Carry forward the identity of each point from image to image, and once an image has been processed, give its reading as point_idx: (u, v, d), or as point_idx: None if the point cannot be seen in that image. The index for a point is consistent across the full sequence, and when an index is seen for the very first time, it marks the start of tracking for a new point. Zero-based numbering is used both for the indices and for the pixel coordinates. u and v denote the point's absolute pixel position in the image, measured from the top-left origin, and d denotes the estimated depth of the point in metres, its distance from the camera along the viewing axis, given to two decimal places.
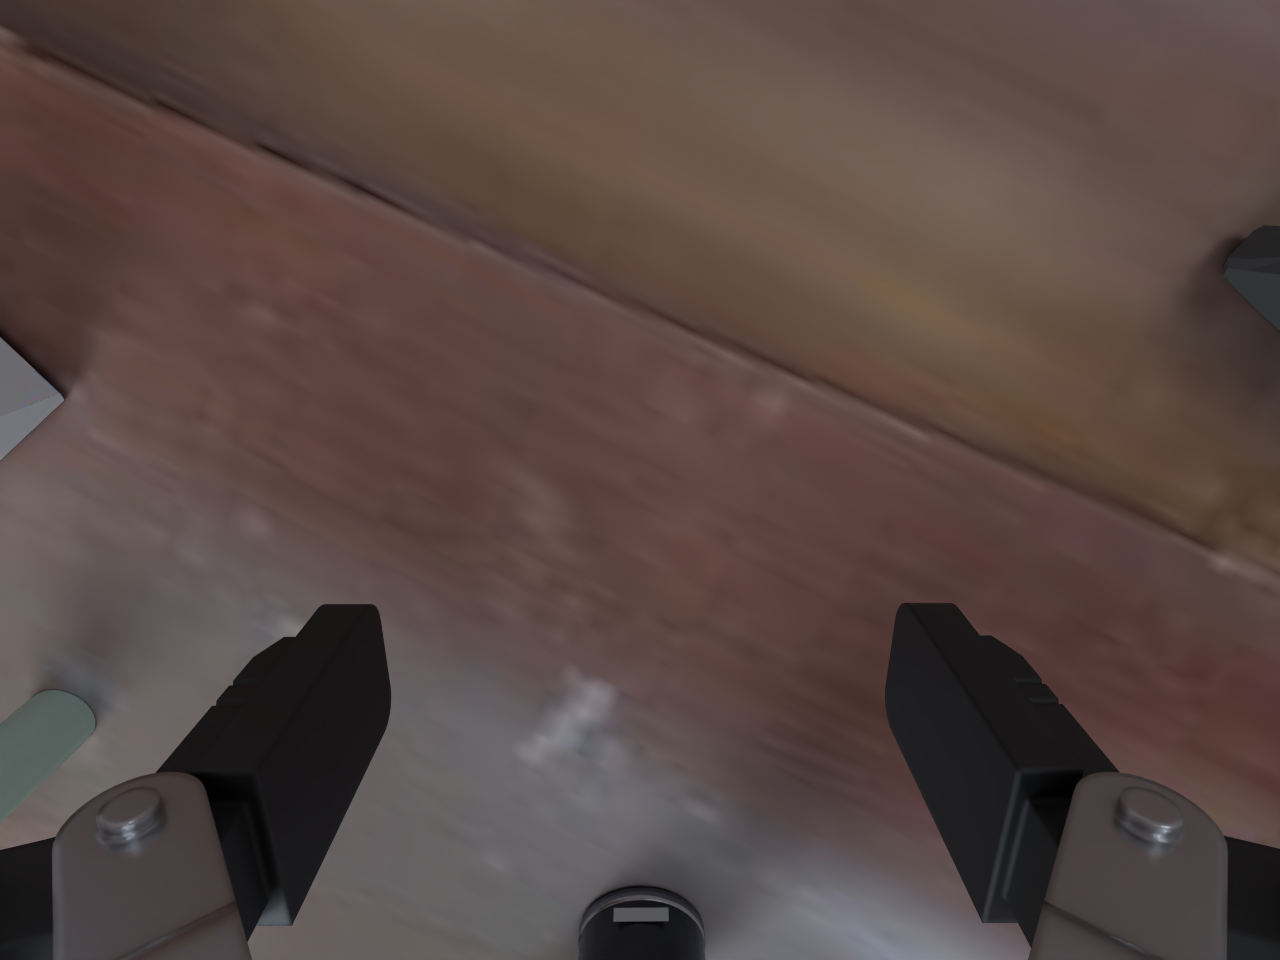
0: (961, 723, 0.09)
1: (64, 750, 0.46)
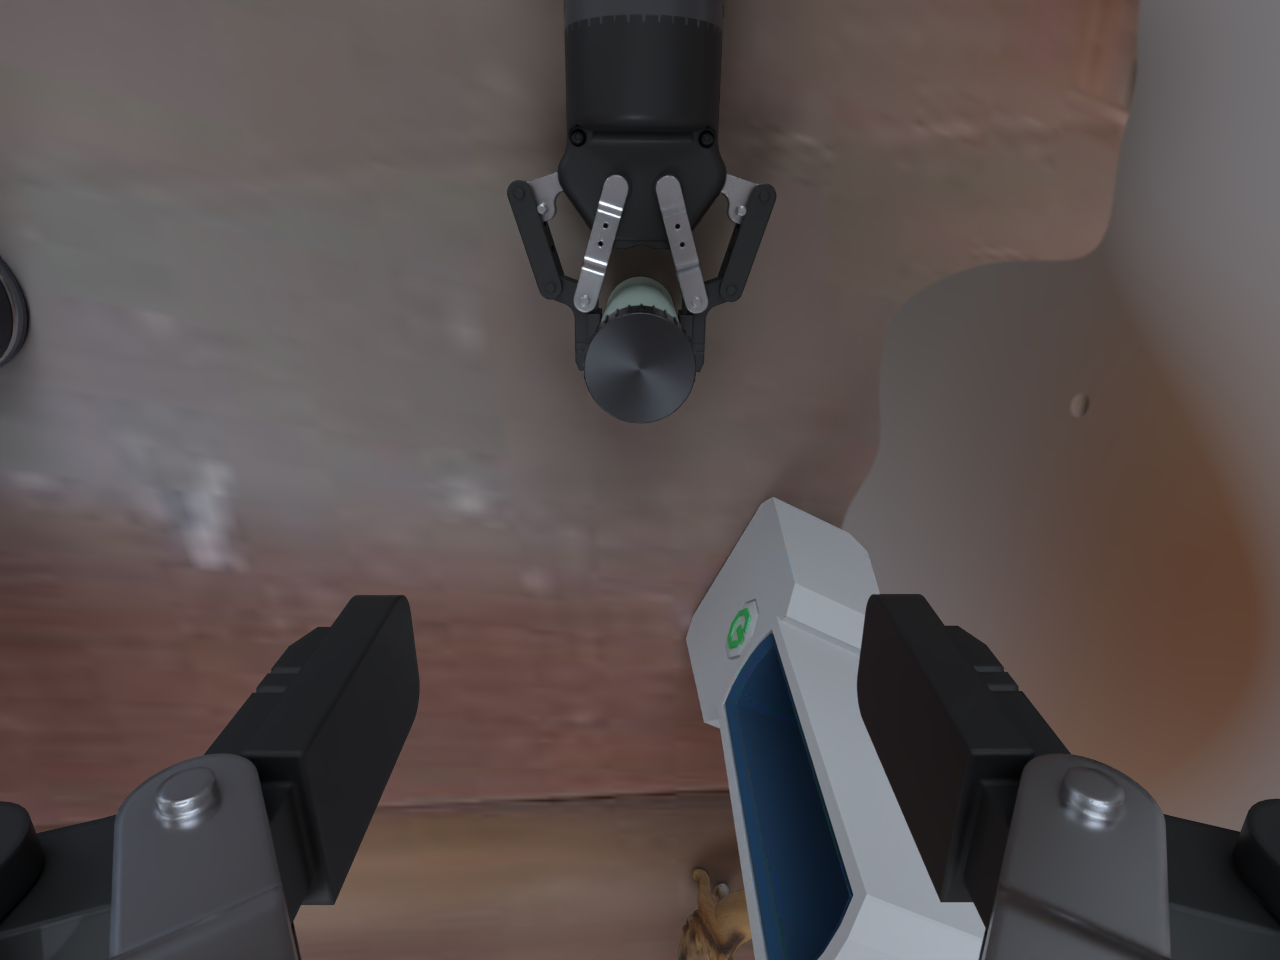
0: (922, 709, 0.09)
1: None
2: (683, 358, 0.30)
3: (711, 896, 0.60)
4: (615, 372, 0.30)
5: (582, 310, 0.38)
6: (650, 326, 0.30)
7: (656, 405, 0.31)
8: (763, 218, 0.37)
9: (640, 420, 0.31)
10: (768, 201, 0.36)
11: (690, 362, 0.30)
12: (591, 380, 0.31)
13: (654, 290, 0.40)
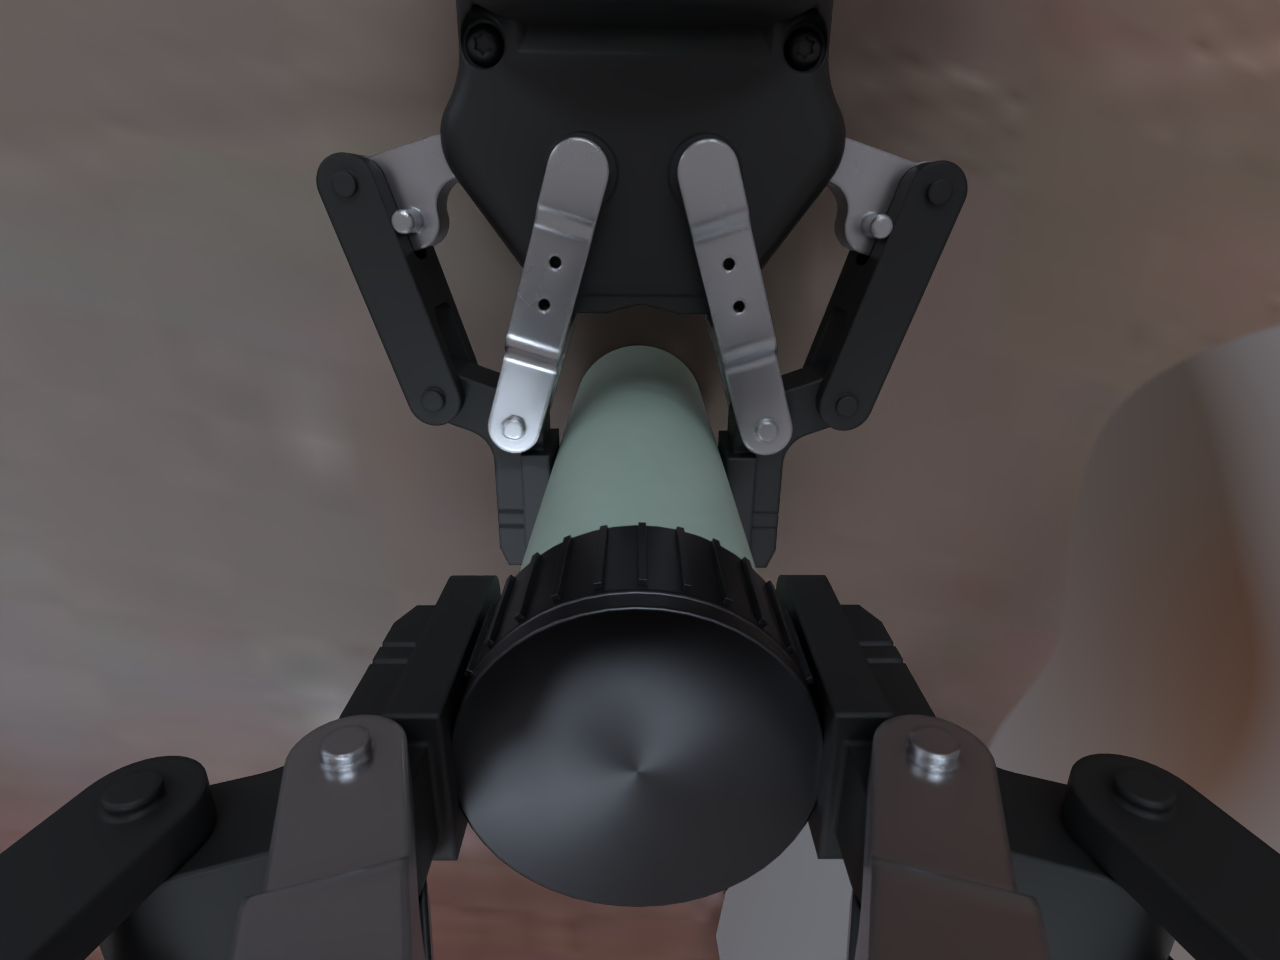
0: None
1: None
2: (785, 741, 0.09)
3: None
4: (555, 779, 0.09)
5: (508, 448, 0.17)
6: (674, 649, 0.08)
7: (691, 864, 0.10)
8: (932, 244, 0.15)
9: (639, 901, 0.10)
10: (947, 203, 0.15)
11: (809, 752, 0.09)
12: (476, 800, 0.09)
13: (669, 396, 0.18)
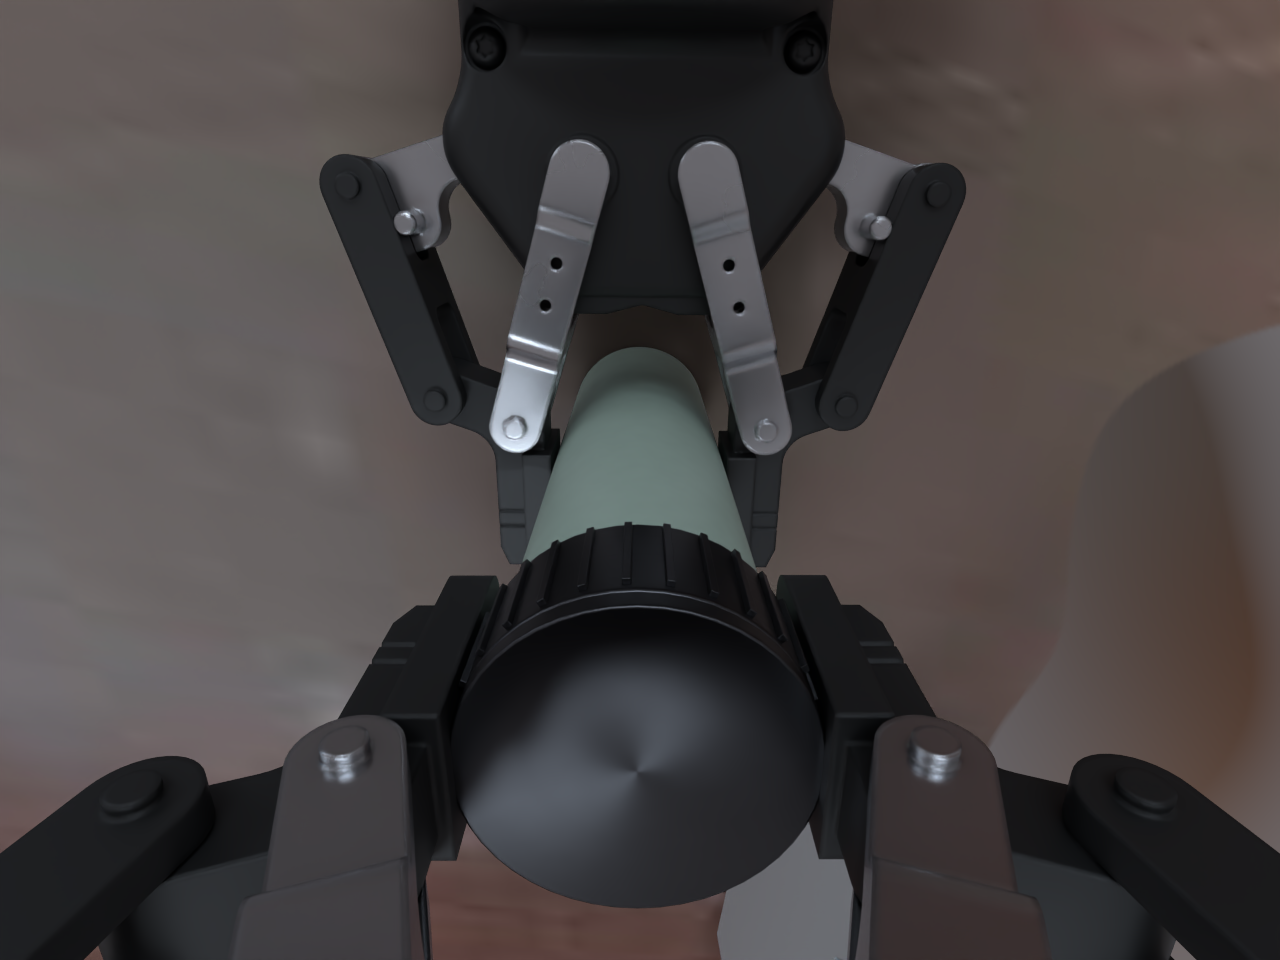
0: None
1: None
2: (619, 643, 0.08)
3: None
4: (635, 835, 0.09)
5: (509, 448, 0.17)
6: (495, 726, 0.09)
7: (771, 740, 0.09)
8: (931, 246, 0.16)
9: (812, 790, 0.09)
10: (946, 205, 0.15)
11: (637, 623, 0.08)
12: (650, 894, 0.10)
13: (670, 396, 0.18)
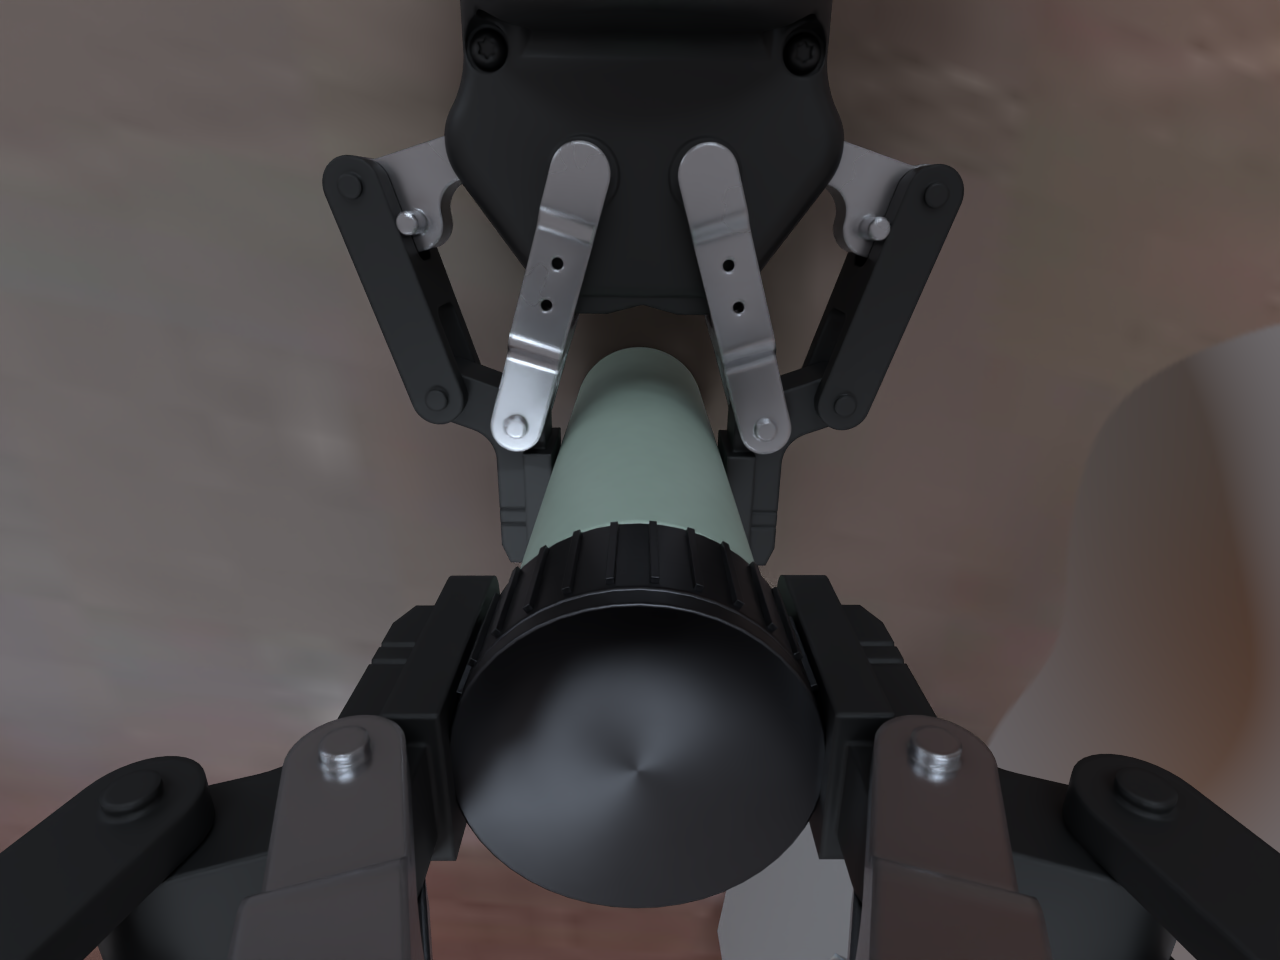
0: None
1: None
2: (485, 766, 0.09)
3: None
4: (719, 781, 0.09)
5: (510, 447, 0.17)
6: (567, 866, 0.10)
7: (616, 654, 0.08)
8: (929, 246, 0.16)
9: (690, 620, 0.08)
10: (944, 206, 0.15)
11: (464, 751, 0.09)
12: (805, 777, 0.09)
13: (670, 395, 0.18)
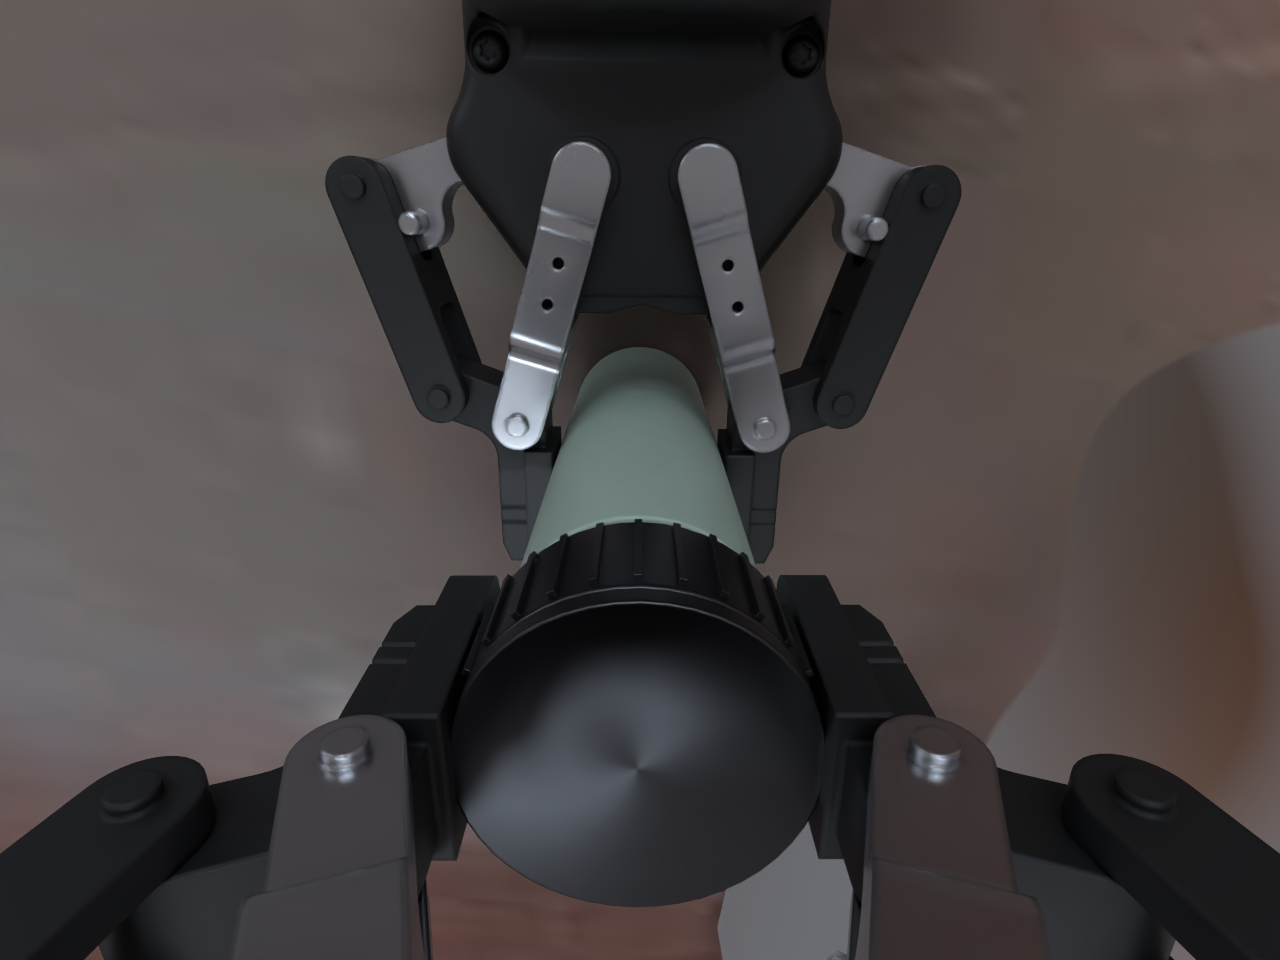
0: None
1: None
2: (613, 880, 0.10)
3: None
4: (663, 702, 0.09)
5: (512, 446, 0.17)
6: (750, 838, 0.09)
7: (499, 768, 0.09)
8: (927, 246, 0.16)
9: (467, 708, 0.09)
10: (942, 207, 0.15)
11: (592, 892, 0.10)
12: (673, 623, 0.08)
13: (670, 394, 0.19)
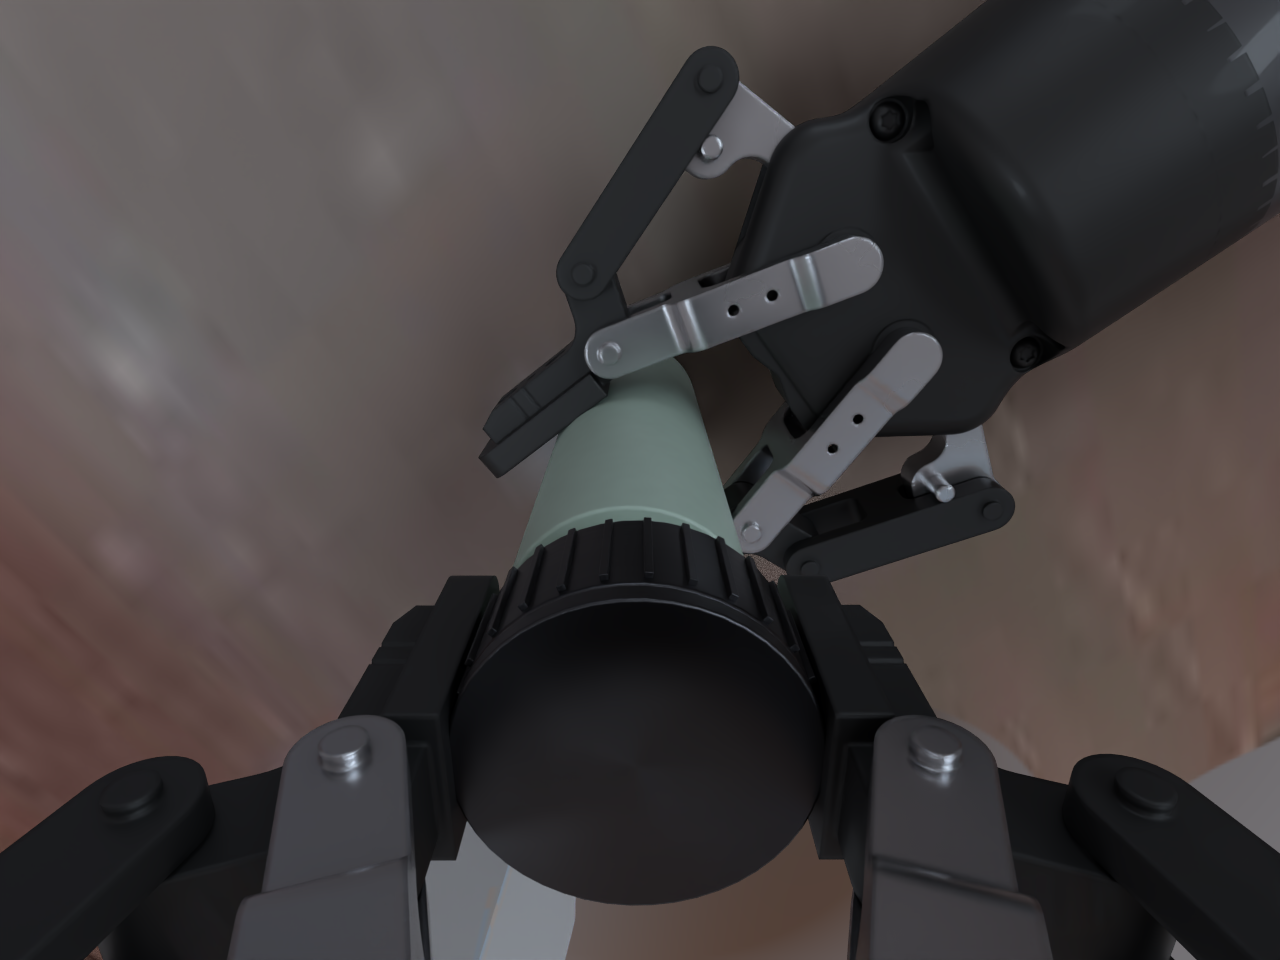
0: None
1: None
2: (707, 650, 0.08)
3: None
4: (591, 820, 0.09)
5: (589, 361, 0.17)
6: (543, 663, 0.08)
7: (766, 797, 0.09)
8: (955, 533, 0.19)
9: (767, 855, 0.09)
10: (987, 521, 0.19)
11: (735, 642, 0.08)
12: (563, 878, 0.10)
13: (708, 440, 0.20)
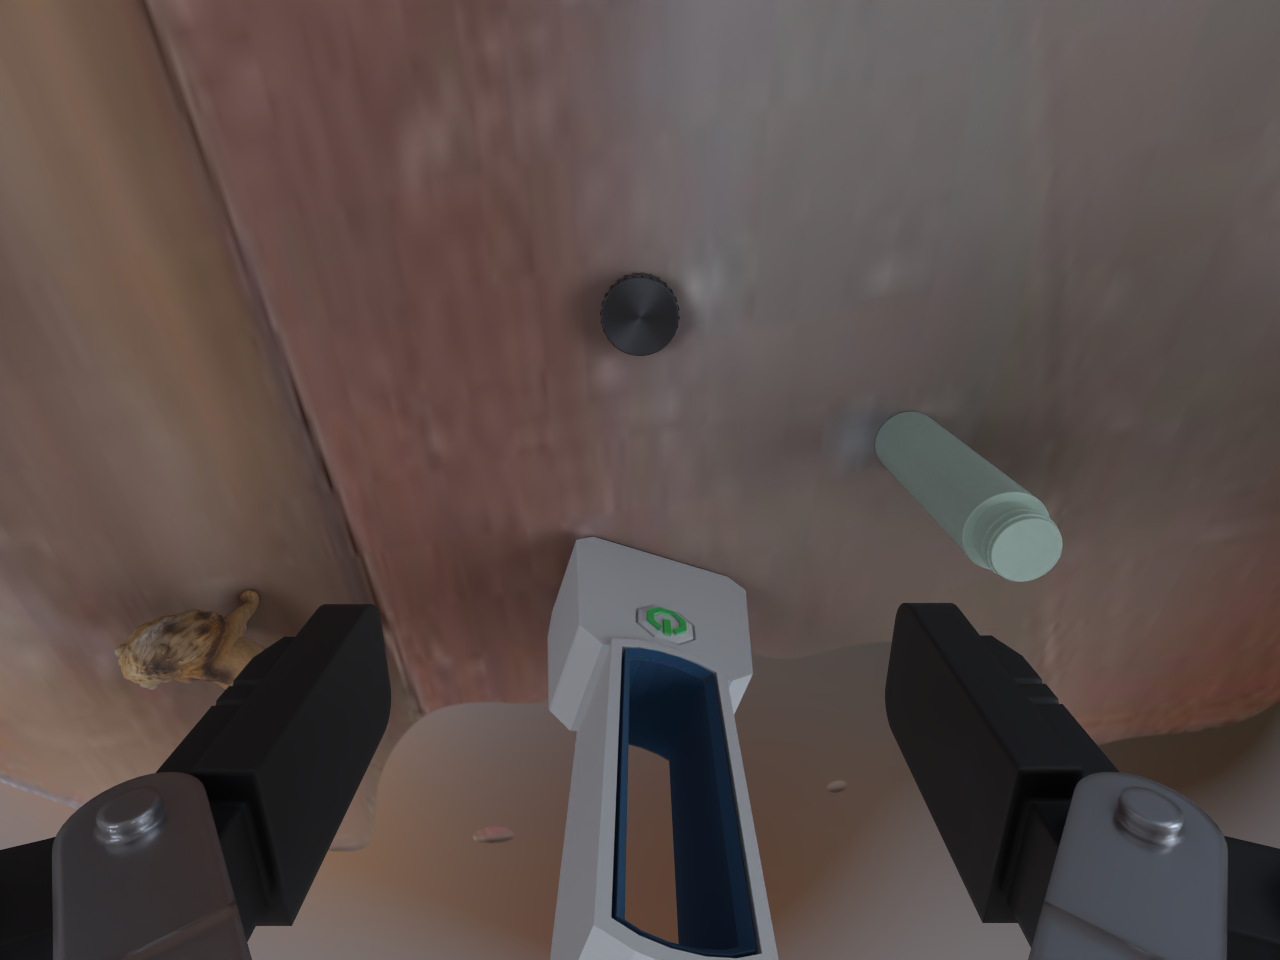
0: (961, 723, 0.09)
1: (911, 426, 0.46)
2: (653, 288, 0.43)
3: (244, 626, 0.51)
4: (630, 331, 0.44)
5: None
6: (621, 292, 0.43)
7: (666, 325, 0.44)
8: None
9: (667, 340, 0.44)
10: None
11: (659, 286, 0.43)
12: (624, 347, 0.45)
13: None
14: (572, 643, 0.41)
